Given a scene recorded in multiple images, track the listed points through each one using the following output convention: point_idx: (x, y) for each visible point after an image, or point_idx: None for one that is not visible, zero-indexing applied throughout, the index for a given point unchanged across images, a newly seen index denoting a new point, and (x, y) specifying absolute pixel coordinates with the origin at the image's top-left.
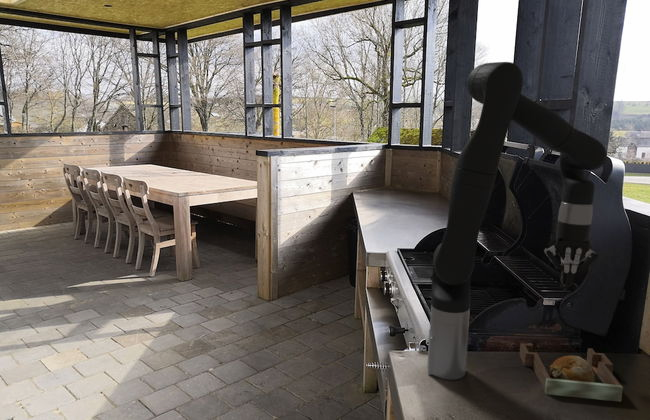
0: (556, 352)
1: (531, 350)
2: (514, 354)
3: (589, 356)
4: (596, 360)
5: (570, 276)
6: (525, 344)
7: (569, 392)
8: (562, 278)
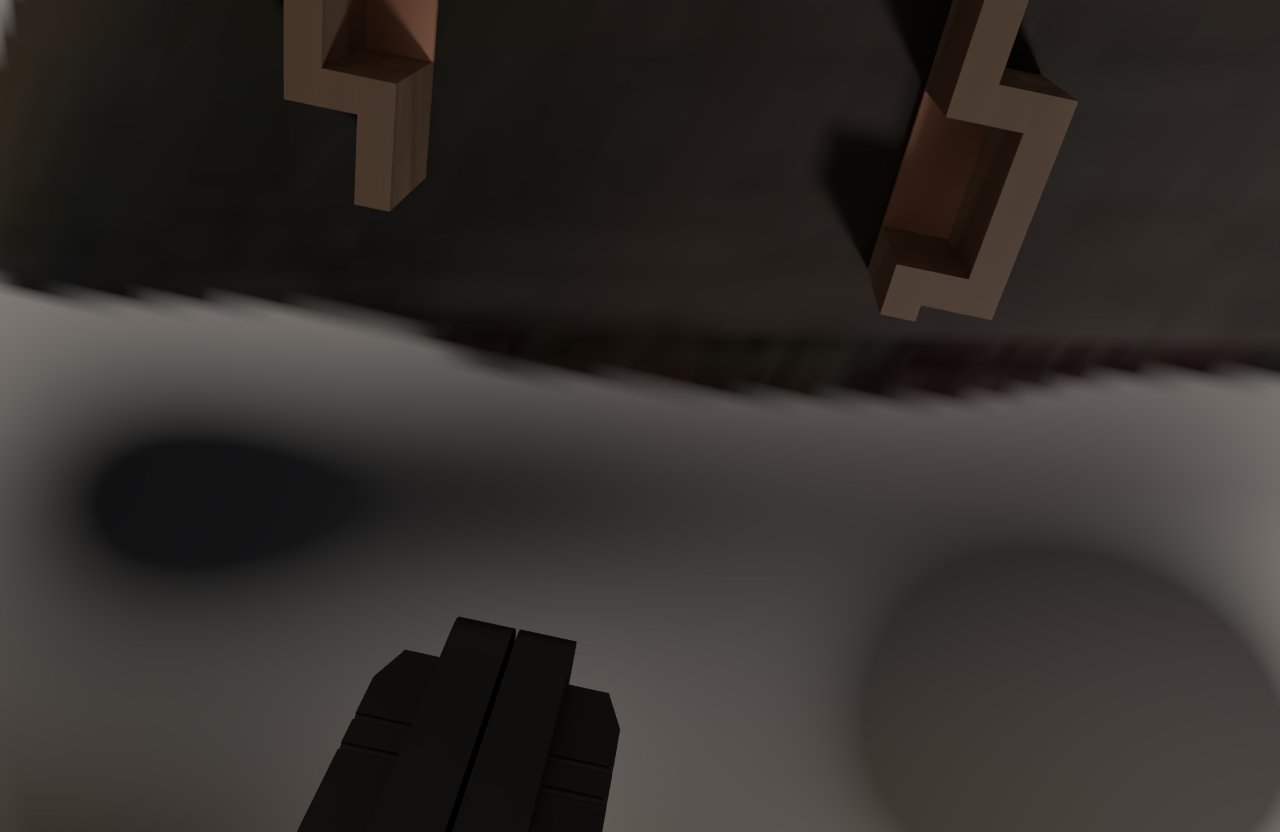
0: (615, 316)
1: (902, 249)
2: None
3: (409, 141)
4: (376, 65)
5: (421, 809)
6: (957, 293)
7: None
8: (603, 808)
